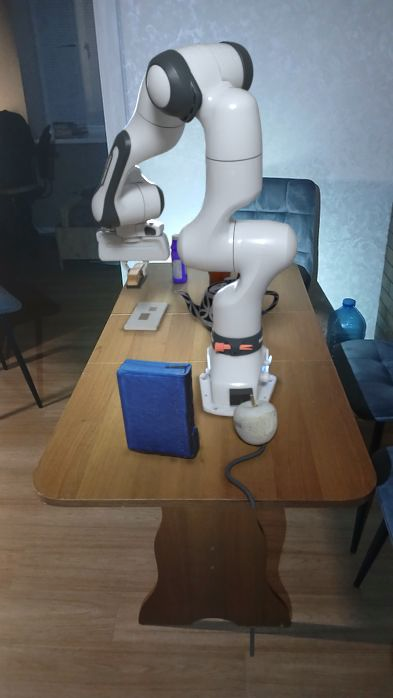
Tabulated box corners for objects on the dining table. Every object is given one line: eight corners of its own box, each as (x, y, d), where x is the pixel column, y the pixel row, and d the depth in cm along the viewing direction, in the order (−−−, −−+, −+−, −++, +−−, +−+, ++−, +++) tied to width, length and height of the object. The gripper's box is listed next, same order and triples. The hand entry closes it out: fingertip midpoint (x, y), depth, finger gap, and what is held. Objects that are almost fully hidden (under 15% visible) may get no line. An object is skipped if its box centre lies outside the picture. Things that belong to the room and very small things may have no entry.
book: (201, 447, 101) (197, 359, 91) (195, 464, 96) (190, 373, 87) (134, 438, 104) (123, 353, 95) (125, 455, 99) (112, 367, 90)
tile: (156, 330, 151) (156, 327, 151) (124, 329, 152) (123, 326, 152) (168, 305, 169) (168, 302, 168) (139, 304, 170) (139, 301, 170)
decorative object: (266, 458, 97) (267, 415, 92) (226, 445, 101) (225, 403, 96) (283, 433, 103) (285, 392, 99) (245, 422, 107) (245, 382, 103)
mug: (212, 301, 170) (211, 272, 165) (204, 293, 177) (203, 265, 172) (245, 296, 173) (245, 267, 168) (235, 288, 180) (235, 260, 176)
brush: (139, 289, 141) (138, 275, 139) (126, 289, 142) (124, 275, 140) (148, 276, 151) (146, 262, 149) (135, 276, 151) (133, 262, 149)
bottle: (171, 278, 193) (168, 233, 185) (186, 277, 193) (184, 232, 185) (173, 284, 186) (169, 238, 178) (188, 283, 187) (185, 237, 179)
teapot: (177, 315, 160) (174, 270, 153) (273, 311, 160) (274, 265, 153) (175, 342, 143) (172, 292, 136) (283, 337, 143) (285, 287, 136)
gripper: (91, 230, 137) (98, 278, 144) (165, 229, 135) (169, 278, 141) (98, 225, 143) (105, 271, 149) (169, 223, 140) (172, 271, 147)
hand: (136, 274), depth 145 cm, fingers closed on brush, 2 cm apart
